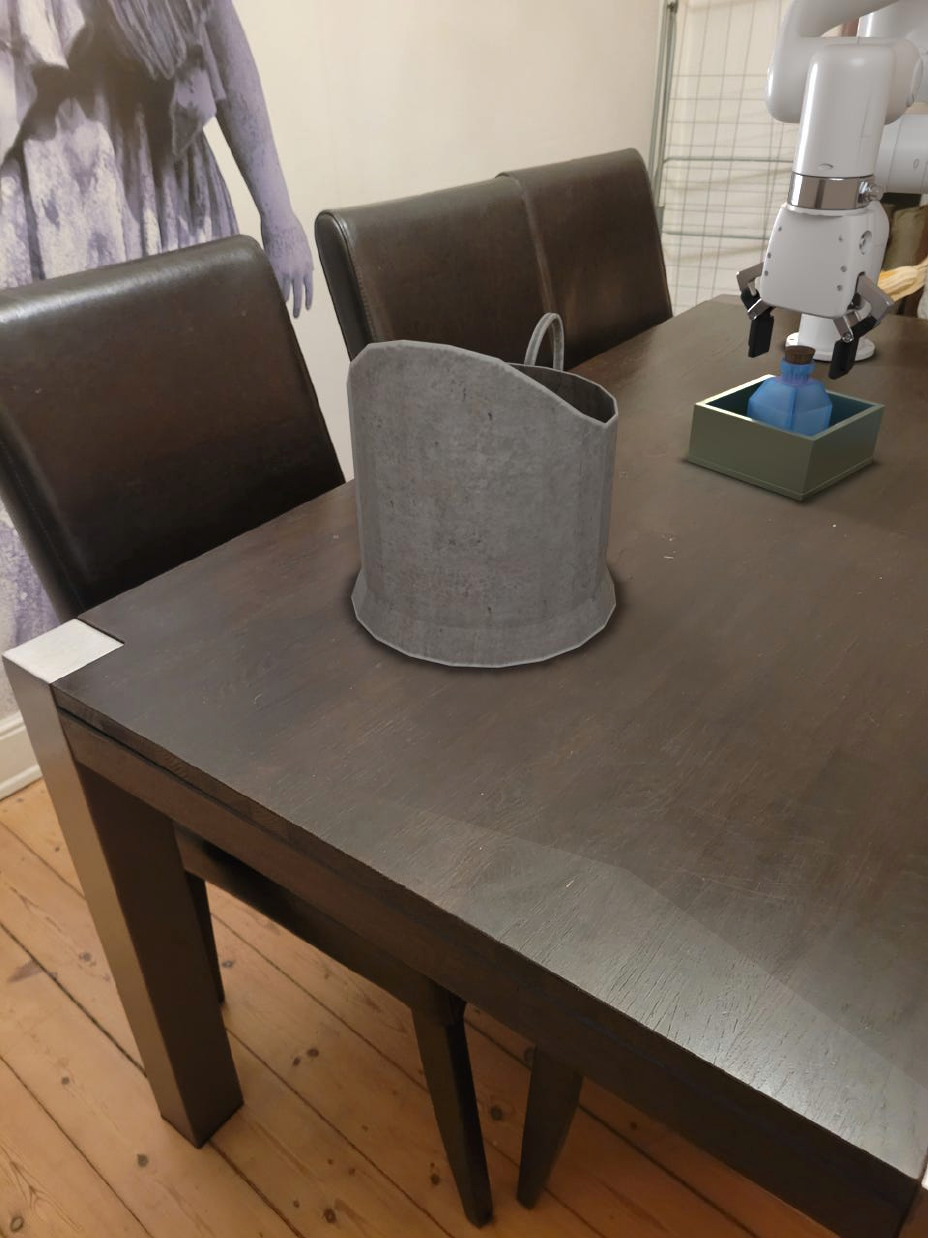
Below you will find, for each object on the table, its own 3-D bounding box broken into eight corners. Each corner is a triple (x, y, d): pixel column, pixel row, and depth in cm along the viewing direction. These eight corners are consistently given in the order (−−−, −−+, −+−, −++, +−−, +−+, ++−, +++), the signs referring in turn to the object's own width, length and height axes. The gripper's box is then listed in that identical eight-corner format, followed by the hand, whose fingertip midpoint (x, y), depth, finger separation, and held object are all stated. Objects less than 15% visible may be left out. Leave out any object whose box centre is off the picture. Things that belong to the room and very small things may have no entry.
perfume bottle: (781, 470, 101) (801, 361, 95) (740, 451, 106) (757, 346, 99) (821, 458, 104) (843, 352, 97) (780, 440, 108) (799, 337, 102)
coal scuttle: (303, 632, 77) (264, 330, 64) (452, 482, 102) (447, 241, 88) (570, 694, 70) (591, 367, 56) (661, 517, 94) (691, 259, 80)
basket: (759, 428, 114) (768, 373, 110) (871, 462, 105) (885, 405, 101) (687, 460, 106) (694, 403, 102) (801, 501, 97) (813, 440, 93)
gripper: (934, 198, 87) (890, 376, 96) (772, 177, 97) (748, 339, 107) (894, 209, 83) (853, 394, 92) (731, 187, 93) (709, 354, 103)
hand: (797, 365), depth 100 cm, fingers open, 9 cm apart
